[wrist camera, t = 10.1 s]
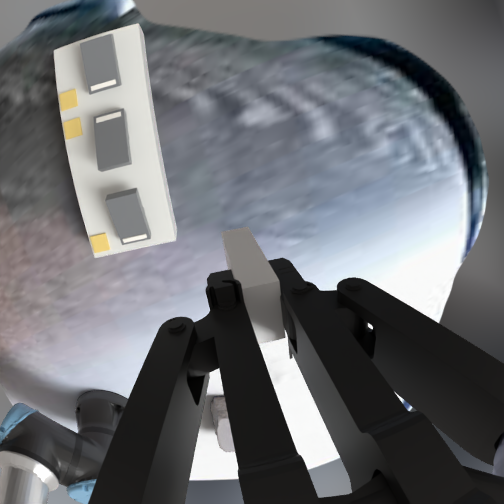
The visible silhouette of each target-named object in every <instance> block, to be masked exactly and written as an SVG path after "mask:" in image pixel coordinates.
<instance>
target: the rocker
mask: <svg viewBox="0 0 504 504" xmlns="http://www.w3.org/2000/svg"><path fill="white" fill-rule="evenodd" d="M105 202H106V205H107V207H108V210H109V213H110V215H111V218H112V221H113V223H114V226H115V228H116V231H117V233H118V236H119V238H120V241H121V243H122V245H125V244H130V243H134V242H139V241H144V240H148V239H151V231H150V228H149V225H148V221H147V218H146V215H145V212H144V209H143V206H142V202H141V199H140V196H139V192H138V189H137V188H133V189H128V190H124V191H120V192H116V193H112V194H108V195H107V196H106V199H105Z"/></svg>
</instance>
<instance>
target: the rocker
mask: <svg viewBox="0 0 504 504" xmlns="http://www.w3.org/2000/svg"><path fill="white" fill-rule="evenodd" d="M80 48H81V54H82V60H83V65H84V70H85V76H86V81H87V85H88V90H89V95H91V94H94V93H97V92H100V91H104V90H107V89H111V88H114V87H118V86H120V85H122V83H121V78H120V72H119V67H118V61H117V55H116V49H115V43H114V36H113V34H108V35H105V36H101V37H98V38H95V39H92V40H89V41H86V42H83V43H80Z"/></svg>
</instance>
